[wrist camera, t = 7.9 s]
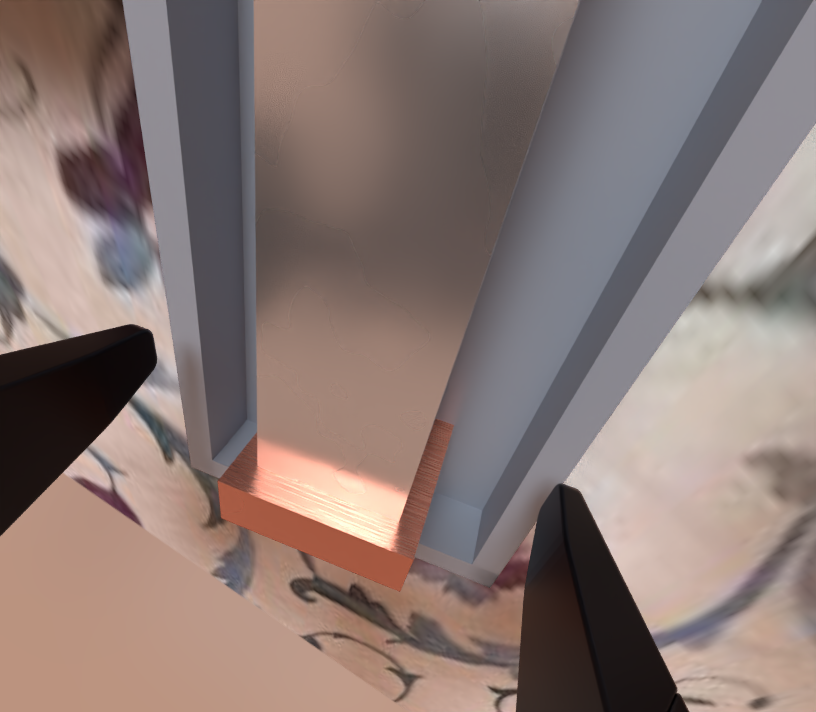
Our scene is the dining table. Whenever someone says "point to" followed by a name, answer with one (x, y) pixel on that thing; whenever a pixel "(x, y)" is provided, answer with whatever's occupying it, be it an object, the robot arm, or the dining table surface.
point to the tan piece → (375, 251)
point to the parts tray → (518, 241)
